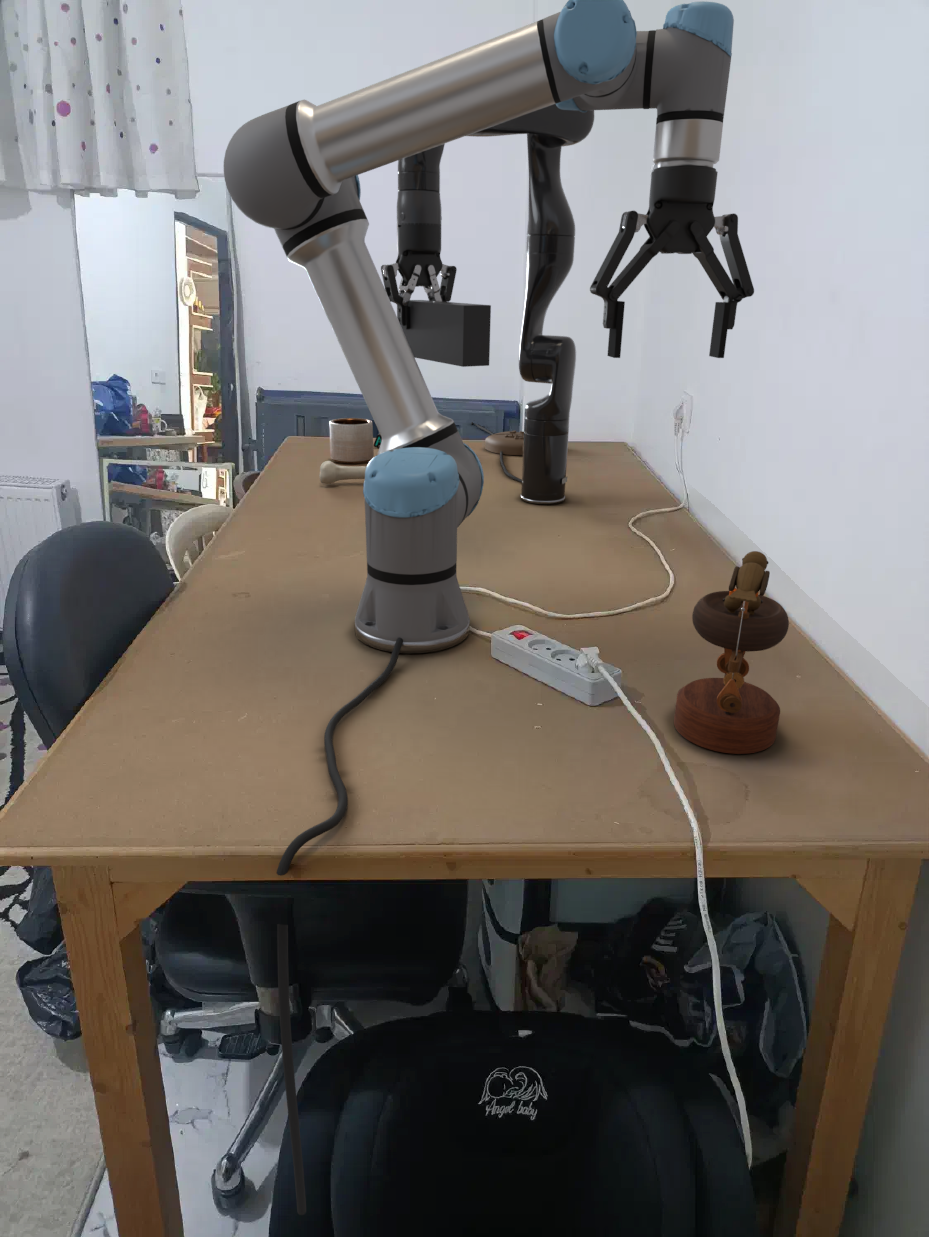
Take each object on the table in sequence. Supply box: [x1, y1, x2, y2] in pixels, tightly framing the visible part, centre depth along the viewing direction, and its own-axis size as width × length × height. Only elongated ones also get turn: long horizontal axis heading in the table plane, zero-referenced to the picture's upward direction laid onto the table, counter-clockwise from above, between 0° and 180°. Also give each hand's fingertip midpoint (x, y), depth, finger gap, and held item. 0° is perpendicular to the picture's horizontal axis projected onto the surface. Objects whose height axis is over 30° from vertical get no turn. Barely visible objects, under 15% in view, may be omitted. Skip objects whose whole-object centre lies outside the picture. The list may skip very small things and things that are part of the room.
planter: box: [328, 417, 375, 464], centre depth 212 cm, size 11×11×10 cm
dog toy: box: [318, 460, 367, 485], centre depth 190 cm, size 20×6×5 cm, turn 99°
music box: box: [673, 550, 790, 755], centre depth 87 cm, size 15×11×20 cm
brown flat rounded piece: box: [484, 430, 524, 456], centre depth 224 cm, size 21×28×4 cm
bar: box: [396, 299, 492, 368], centre depth 143 cm, size 23×5×9 cm, turn 32°
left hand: (665, 357), depth 106 cm, fingers open, 13 cm apart
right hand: (419, 328), depth 149 cm, fingers closed on bar, 5 cm apart
